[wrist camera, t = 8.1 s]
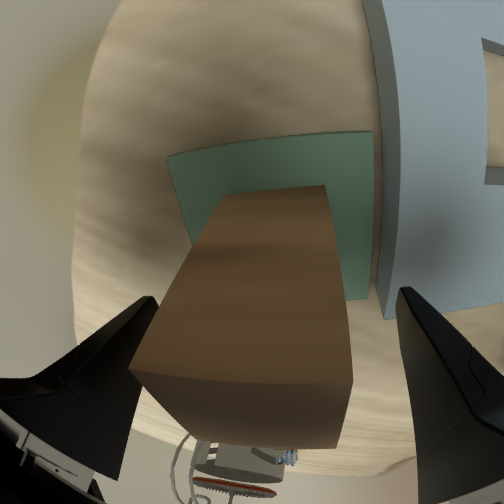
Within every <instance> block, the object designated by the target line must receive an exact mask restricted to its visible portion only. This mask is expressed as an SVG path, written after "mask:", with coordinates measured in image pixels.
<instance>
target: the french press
mask: <svg viewBox="0 0 504 504" xmlns="http://www.w3.org/2000/svg"><path fill="white" fill-rule="evenodd" d="M189 436H191V434H190V433H189V434H187V435H186V436H185V438H184V439H183V440H182V442H181V443H180V445H179V446H178V448H177V450H176V453H175V456H174V459H173V463H172V466H171V473H170V479H171V486H172V491H173V493H174V495H175V498H176V500H177V501H178V502H179V503H180V504H184V503H183V502H182V501H181V500H180V498H179V496H178V493H177V491H176V489H175V480H174V466H175V464H176V460H177V458H178V455H179V452H180V450H181V448H182V446H183V444H184V442H185V441H186V440H187V439H188V438H189ZM211 443H215V442H209V441H203V440H197V443H196V446H195V450H194V454H193V457H192V461H191V467H190V472H189V483H190V491H191V496H192V497H191V498H190V499H189V503H188V504H192V501H194V504H198V502H197V500H196V498H197V497H198V498H203V499H206V500H207V501H208V504H211V500H210V499H209V498H208V497H207V496H203V495H198V494H197V495H195V494H194V488H193V484H195V485H197V486H199V487H204V488H207V489H208V488H209V489H212V490H214V489H216V491H217V490H219V492H220V491H223V492H225V493H227V492H229V495H230V499H229V503H228V504H232V499H233V496H234V495H235V494H236V495H238V494H239V495H240V494H241V495H243V496H245V495H248V496H249V497H250V495H251V497H253V496H254V497H256V496H257V497H258V498H260V497H261V498H262V497H263V498H266V497H267V496H268V497H267V498H269V497H270V498H272V497H274V496H276V495H277V494H276V492H275V491H272V490H271V489H269V488H264V487H260V486H255V485H249V484H243V483H237V482H231V481H225V480H220V479H211V478H203V477H193V472H194V469H196V470H198V471H200V472H203V473H206V474H209V475H212V476H216V477H220V478H224V479H229V480H234V481H241V482H250V483H279V482H281V481H283V474H284V468H285V461H281V462H279V463H277V464H276V458H283V457H284V456H285V455H286V449H281V450H278V449H275V448H259V447H247V446H238V445H229V444H222V443H219V446H218V448H210V445H211ZM215 453H217V454H216V459H212V460H207V457H208V454H215ZM192 477H193V478H192ZM230 482H231V483H230ZM236 483H237V484H236ZM241 484H243V485H241ZM247 485H248V486H247ZM223 492H222V493H223ZM241 495H240V496H241ZM248 496H246V497H248ZM259 496H260V497H259ZM265 496H266V497H265Z"/></svg>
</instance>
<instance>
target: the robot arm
mask: <svg viewBox="0 0 504 504" xmlns="http://www.w3.org/2000/svg"><path fill="white" fill-rule="evenodd" d="M158 308H159V306H158V304H157V302H156V300H155V298H154V297H153V296H143V297H141V298H140V299H139V300H137V301H136V302H135V303H133V304H132V305H131V306H129V307H128V308H127V309H125V310H124V311H123V312H121V313H120V314H119V315H117V316H116V317H115V318H113V319H112V320H111V321H109V322H108V323H107V324H105V325H104V326H103V327H101V328H100V329H99V330H97V331H96V332H95V333H93V334H92V335H91V336H89V337H88V338H87V339H86V340H84V341H83V342H82V343H80V345H78V346H76V347H75V348H74V349H73V350H71V351H70V352H69V353H67V354H66V355H65V356H63V357H62V358H60V359H59V360H58V361H56V362H54V363H53V364H52V365H50V366H49V367H47V368H46V369H44V370H43V371H41V372H40V373H38V374H37V375H35V376H32V377H29V378H0V504H107V503H105V501H104V499H103V496H102V494H101V492H100V489H99V487H98V484H97V482H96V480H95V479H93V475H94V472H95V471H96V472H98V473H100V474H102V475H105V476H107V477H109V478H111V479H113V480H116V481H118V478H119V474H120V469H121V465H122V461H123V457H124V452H125V448H126V444H127V440H128V438H127V437H128V436H129V432H130V429H131V425H132V421H133V418H134V414H135V411H136V407H137V403H138V400H139V397H140V393H141V390H142V386H143V385H142V384H141V383H140V382H139V381H138V380H137V378H136V377H135V376H134V375H133V374H132V373H131V371H130V370H129V369H128V367H129V365H130V363H131V361H132V359H133V357H134V355H135V353H136V351H137V349H138V347H139V345H140V343H141V341H142V339H143V337H144V335H145V333H146V331H147V329H148V327H149V325H150V323H151V321H152V319H153V317H154V316H155V314H156V312H157V310H158ZM395 311H396V318H397V326H398V334H399V342H400V350H401V355H402V360H403V365H404V369H405V374H406V380H407V385H408V391H409V397H410V403H411V410H412V417H413V424H414V433H415V442H416V453H417V468H418V504H438V503H442V502H445V501H449V504H504V376H503V375H502V374H501V373H500V372H499V371H497V370H496V369H495V368H494V367H493V366H492V365H491V364H490V363H489V362H488V361H487V360H486V359H485V358H484V357H483V356H482V355H481V354H480V353H479V352H478V351H477V350H476V349H475V348H474V347H472V345H471V344H470V342H469V341H468V340H467V339H466V338H465V337H464V336H463V335H462V334H461V333H460V332H459V331H458V330H457V329H456V328H455V327H454V326H453V325H452V324H451V323H450V322H449V321H448V320H447V319H446V318H445V317H443V316H442V315H441V314H440V313H439V312H438V311H437V310H436V309H435V308H434V307H433V306H432V305H431V304H430V303H429V302H428V301H427V300H425V299H424V298H423V297H422V296H421V295H420V294H419V293H418V292H417V291H416V290H414V289H413V288H412V287H411V286H405V287H400V288H399V290H398V295H397V300H396V305H395Z"/></svg>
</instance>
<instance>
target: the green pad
mask: <svg viewBox="0 0 504 504" xmlns="http://www.w3.org/2000/svg"><path fill="white" fill-rule="evenodd" d="M166 159H167V163H168V167H169V170H170V173H171V177H172V180H173V184H174V187H175V190H176V194H177V197H178V200H179V204H180V207H181V210H182V213H183V217H184V220H185V223H186V226H187V229H188V232H189V235H190V238H191V241H192V244H193V245H194V243H195V242H196V240H197V238H198V237H199V235H200V233H201V232H202V230H203V228H204V226H205V225H206V223H207V221H208V220H209V218H210V216H211V215H212V213H213V211H214V210H215V208H216V207H217V205H218V203H219V202H220V200H221V198H222V197H223V195H227V194H235V193H243V192H252V191H261V190H271V189H281V188H292V187H303V186H316V185H325V188H326V192H327V197H328V202H329V206H330V211H331V216H332V221H333V226H334V232H335V237H336V243H337V248H338V254H339V260H340V266H341V273H342V279H343V286H344V294H345V301H346V300H361V299H368V291H369V282H370V272H371V260H372V246H373V228H374V147H373V132H371V131H351V132H330V133H316V134H303V135H293V136H283V137H274V138H266V139H259V140H251V141H244V142H238V143H232V144H226V145H220V146H214V147H209V148H203V149H198V150H193V151H188V152H184V153H179V154H175V155H170V156H168V157H167V158H166Z"/></svg>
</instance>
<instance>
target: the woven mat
mask: <svg viewBox="0 0 504 504" xmlns="http://www.w3.org/2000/svg"><path fill="white" fill-rule="evenodd" d="M278 450H281V449H278ZM296 450H297V449H286V455H285V456H284V457H283V458H276V463H279V462H281V461H285V464H286V465H289V464H291V466H294V464H296V463H295V462H296V461H297V460H298V459H297V457H298V456H297V455H296V454H297V453H298V452H297V451H296Z"/></svg>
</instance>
